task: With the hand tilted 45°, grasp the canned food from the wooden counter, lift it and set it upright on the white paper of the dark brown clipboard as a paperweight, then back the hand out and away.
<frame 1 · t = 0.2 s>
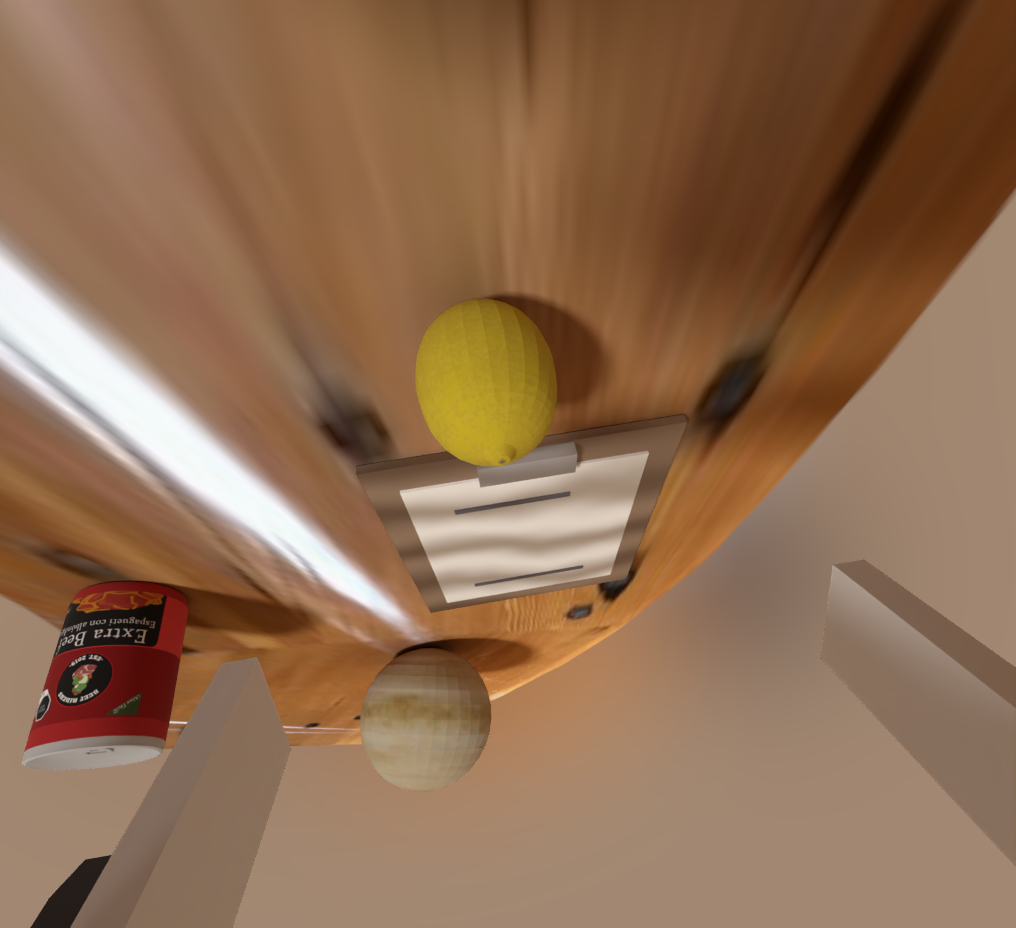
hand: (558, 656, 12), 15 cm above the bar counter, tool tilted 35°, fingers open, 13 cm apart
clipboard: (526, 534, 42), on the bar counter
canned food: (134, 596, 41), on the bar counter
lemon: (472, 310, 23), on the bar counter
decorative ball: (422, 649, 65), on the bar counter
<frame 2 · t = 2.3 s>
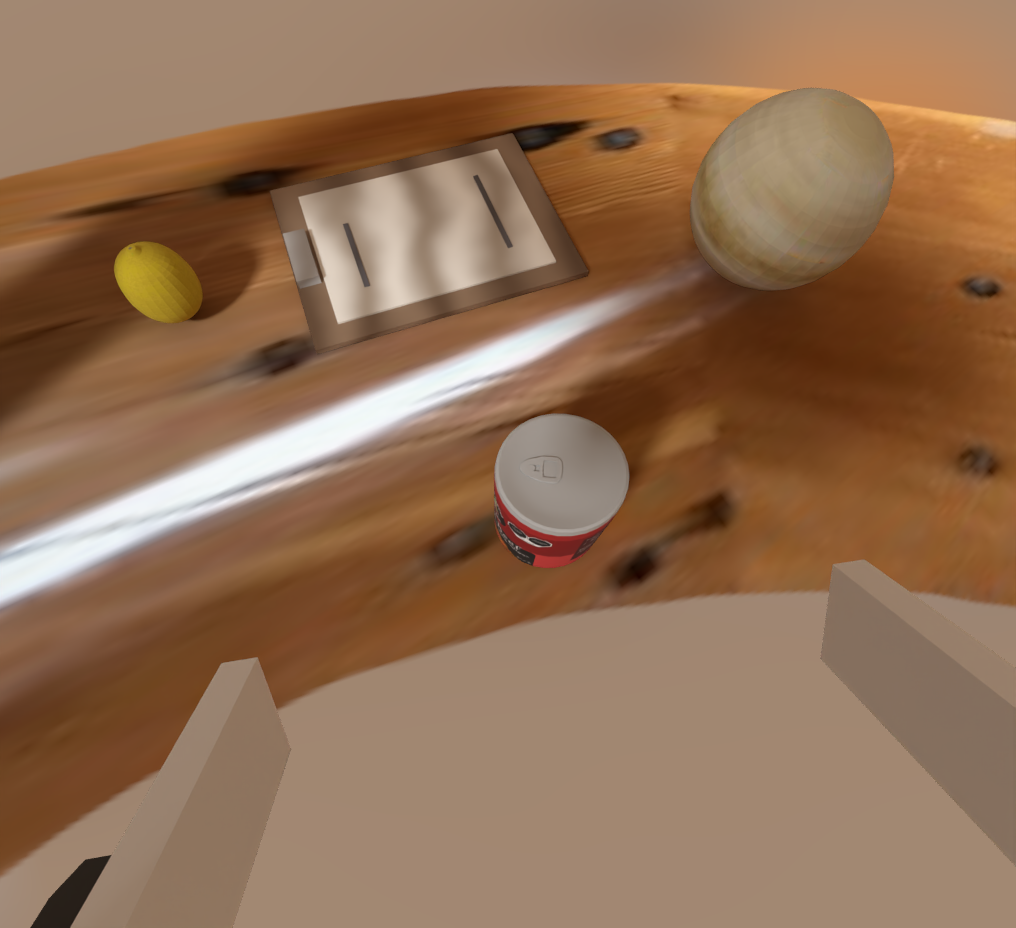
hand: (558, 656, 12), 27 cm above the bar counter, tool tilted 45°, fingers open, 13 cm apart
clipboard: (425, 234, 51), on the bar counter
canned food: (545, 522, 41), on the bar counter
lemon: (188, 316, 47), on the bar counter
decorative ball: (743, 263, 51), on the bar counter
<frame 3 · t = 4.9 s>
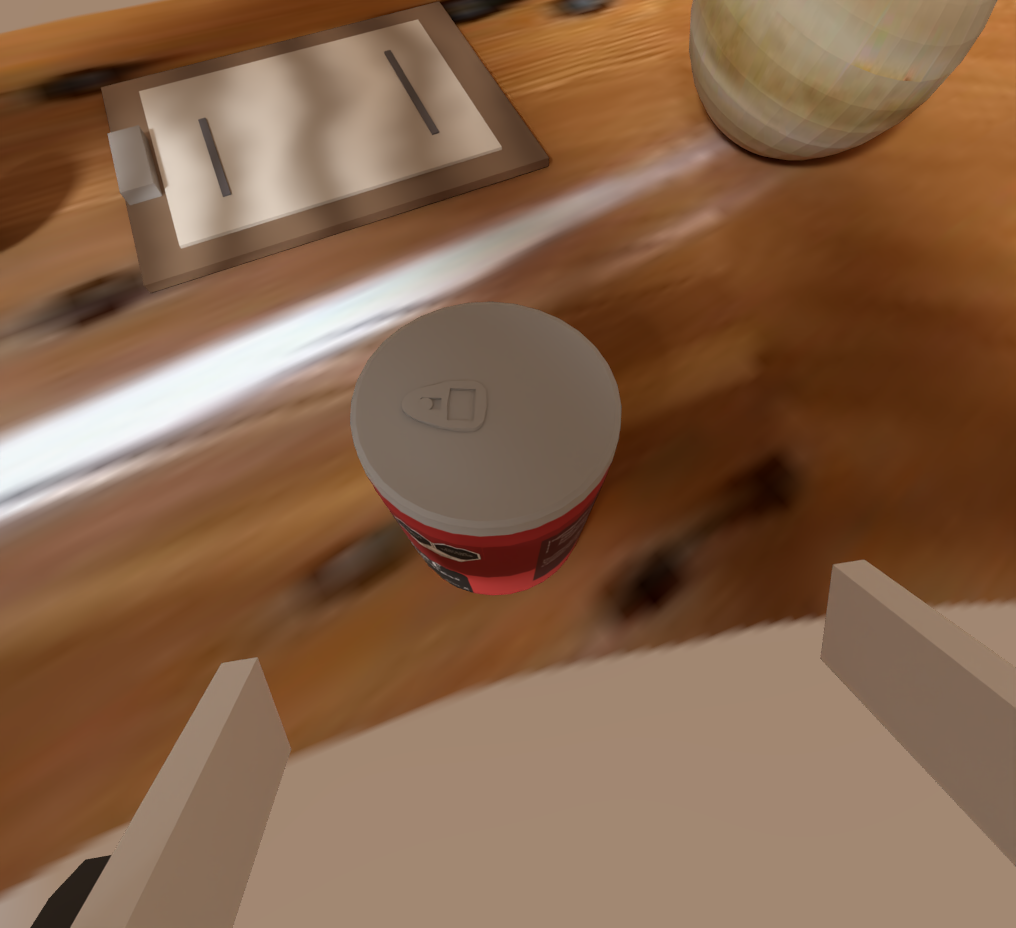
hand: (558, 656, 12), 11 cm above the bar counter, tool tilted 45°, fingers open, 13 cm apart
clipboard: (317, 129, 37), on the bar counter
canned food: (496, 519, 25), on the bar counter
decorative ball: (769, 138, 36), on the bar counter
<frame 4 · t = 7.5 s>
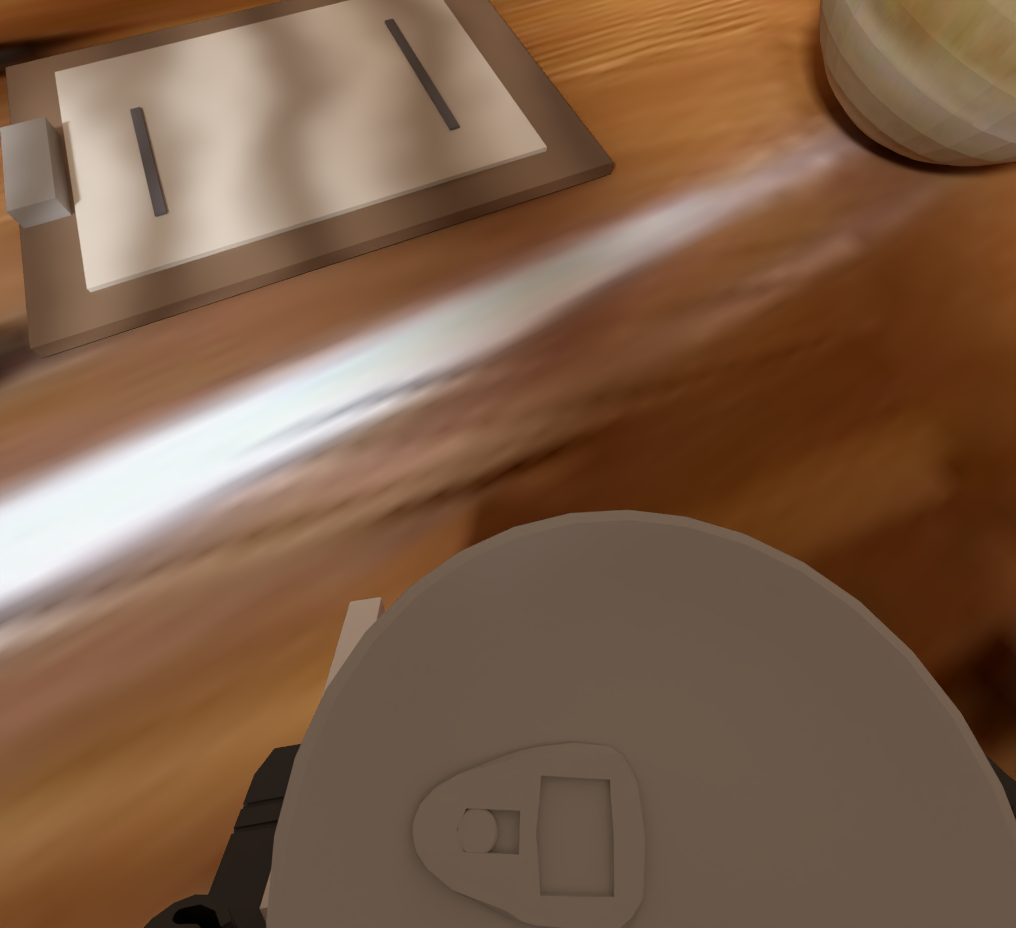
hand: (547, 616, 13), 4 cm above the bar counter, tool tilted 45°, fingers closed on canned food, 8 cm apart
clipboard: (294, 123, 27), on the bar counter
canned food: (560, 749, 16), on the bar counter, touching gripper
decorative ball: (910, 136, 26), on the bar counter
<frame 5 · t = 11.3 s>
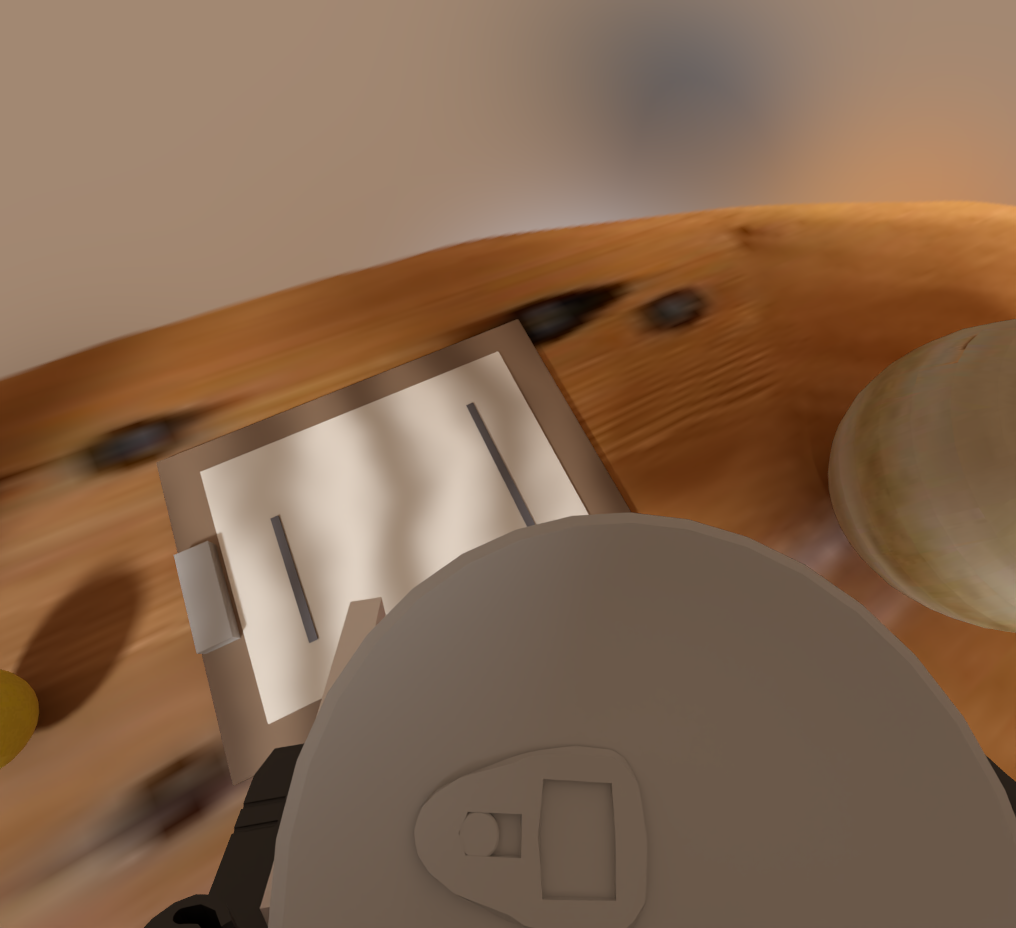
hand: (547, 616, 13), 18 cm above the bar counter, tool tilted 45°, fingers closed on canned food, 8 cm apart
clipboard: (401, 516, 33), on the bar counter
canned food: (561, 751, 16), point 14 cm above the bar counter, touching gripper
lemon: (27, 721, 29), on the bar counter
decorative ball: (899, 518, 33), on the bar counter
when the fingers open (6 cm above the bar counter, at t = 15.4 s): canned food drops 1 cm, resting on clipboard.
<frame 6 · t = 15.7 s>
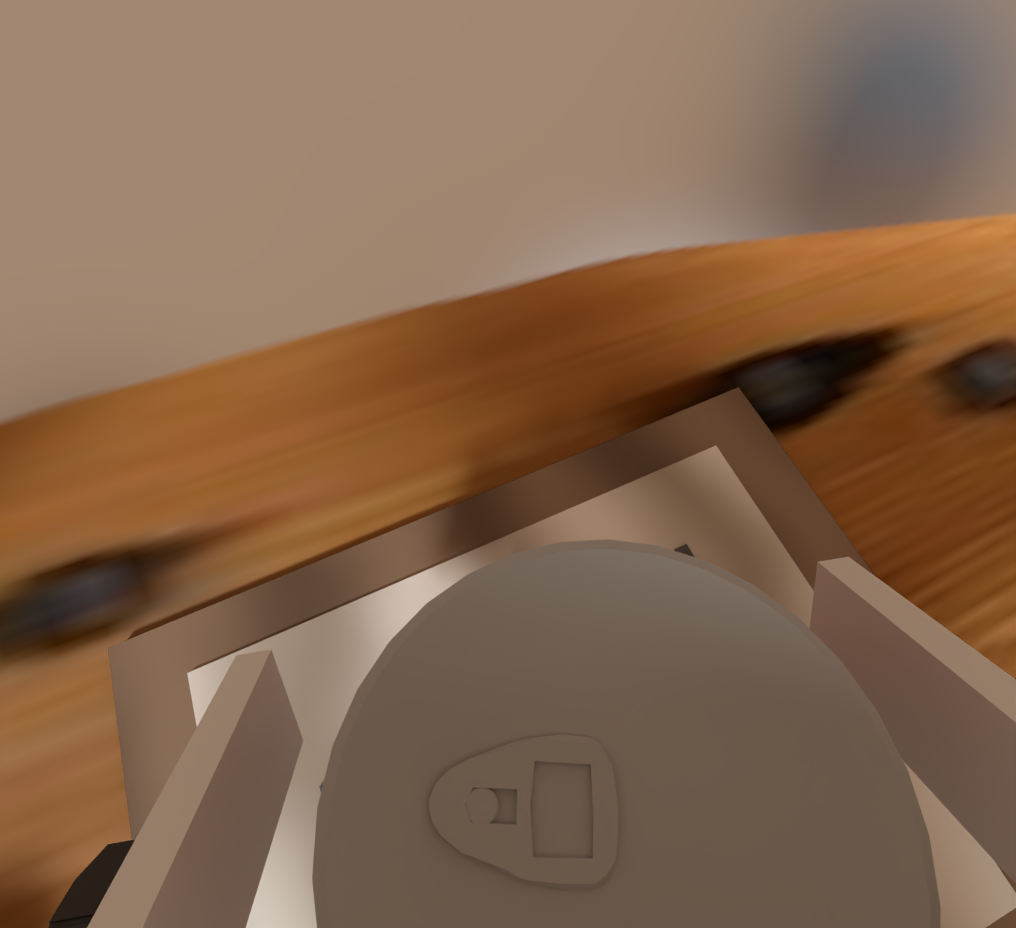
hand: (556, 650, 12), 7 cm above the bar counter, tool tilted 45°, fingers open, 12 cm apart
clipboard: (568, 775, 17), on the bar counter
canned food: (552, 748, 17), point 1 cm above the bar counter, touching clipboard
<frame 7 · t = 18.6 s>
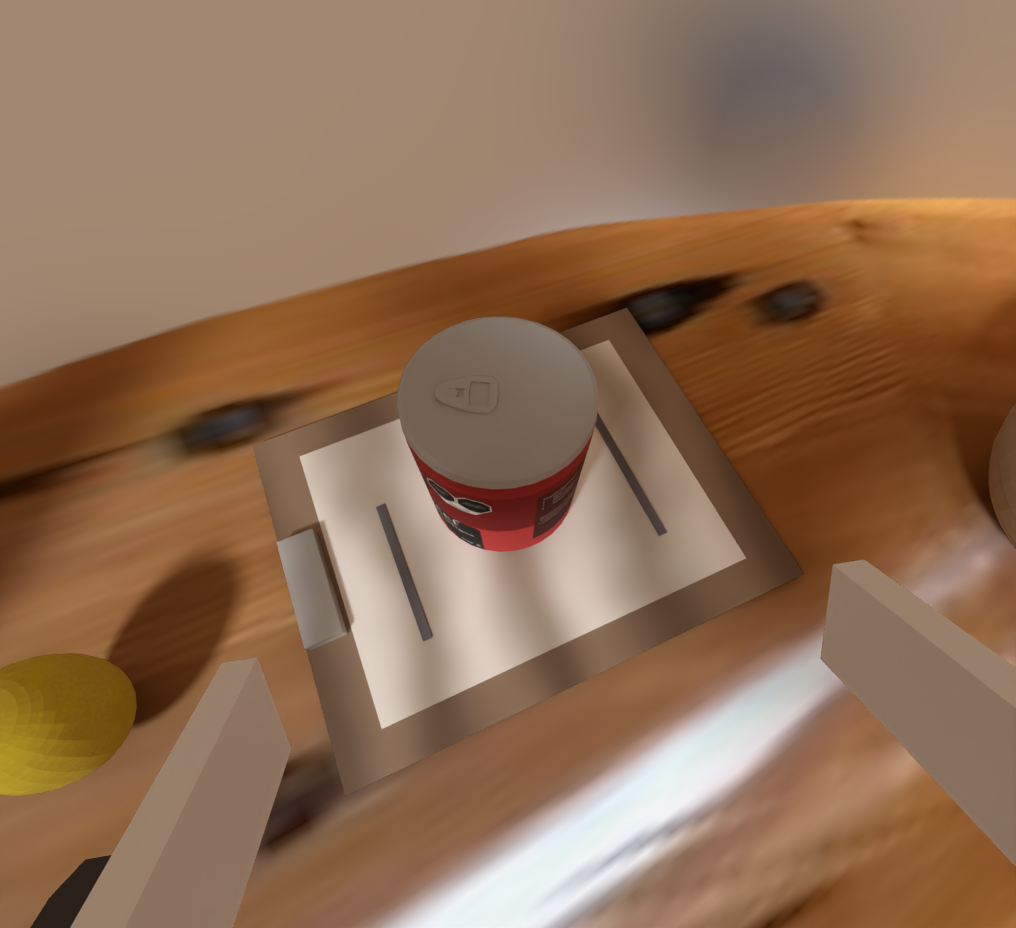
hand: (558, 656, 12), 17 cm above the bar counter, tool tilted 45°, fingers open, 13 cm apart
clipboard: (512, 509, 31), on the bar counter
canned food: (503, 492, 31), point 1 cm above the bar counter, touching clipboard
lemon: (117, 716, 27), on the bar counter
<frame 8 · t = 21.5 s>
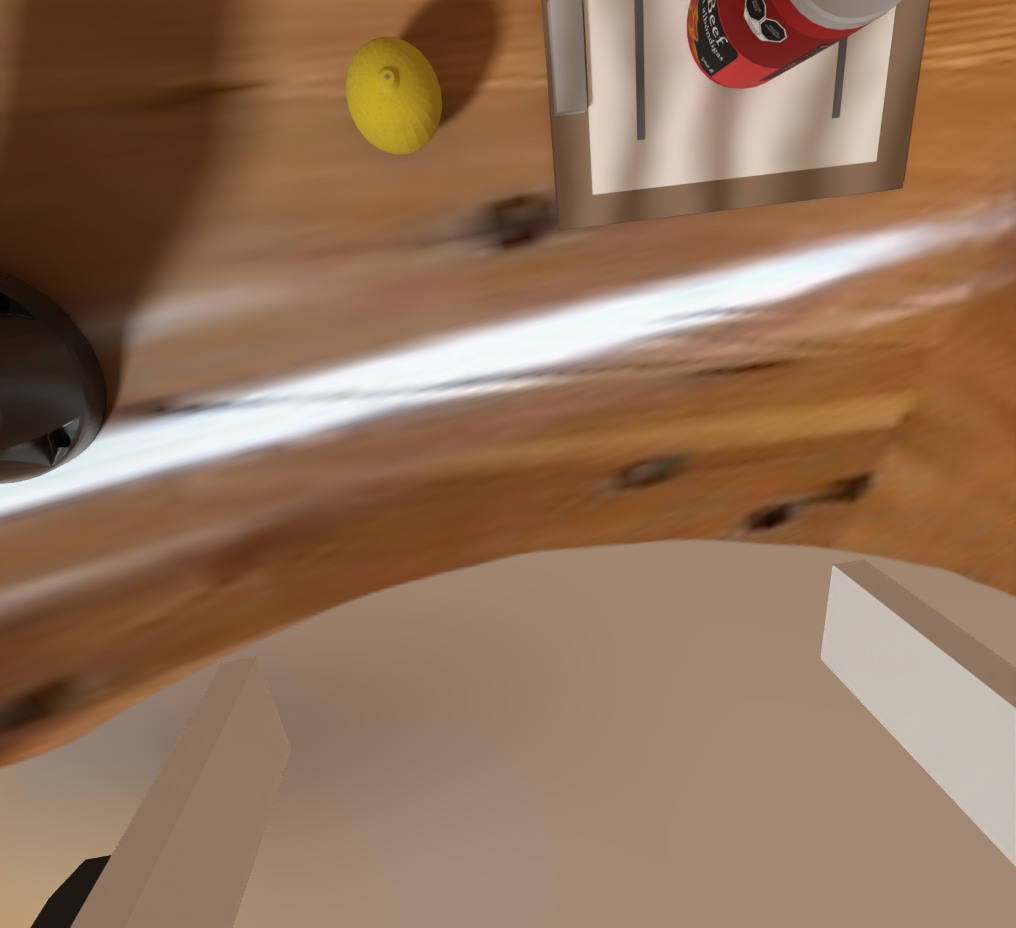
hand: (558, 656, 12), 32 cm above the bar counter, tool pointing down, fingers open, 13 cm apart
clipboard: (736, 45, 35), on the bar counter
canned food: (739, 24, 34), point 1 cm above the bar counter, touching clipboard
lemon: (401, 118, 35), on the bar counter
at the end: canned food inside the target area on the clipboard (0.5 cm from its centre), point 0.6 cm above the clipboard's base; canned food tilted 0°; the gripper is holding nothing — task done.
